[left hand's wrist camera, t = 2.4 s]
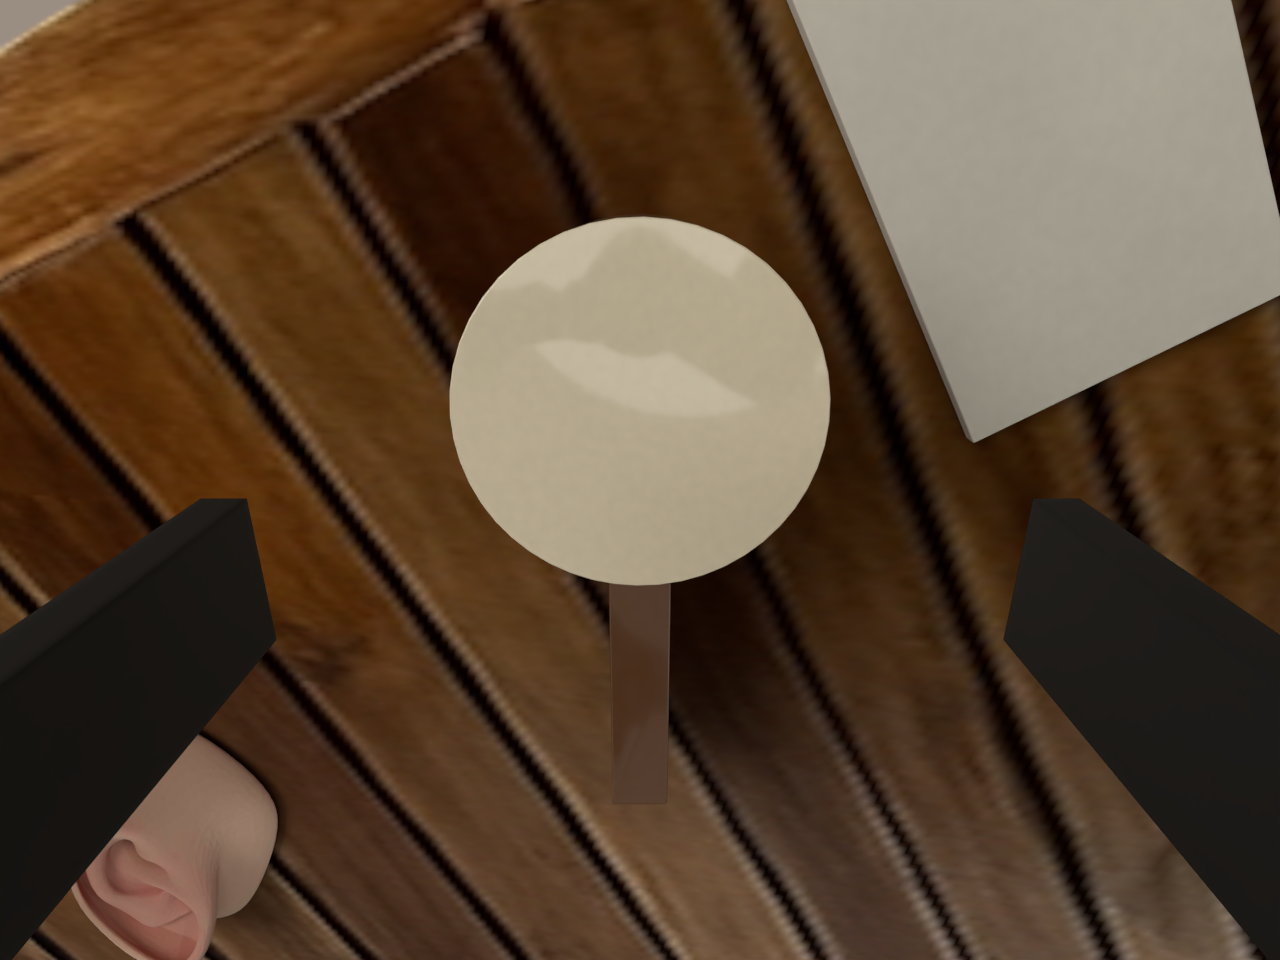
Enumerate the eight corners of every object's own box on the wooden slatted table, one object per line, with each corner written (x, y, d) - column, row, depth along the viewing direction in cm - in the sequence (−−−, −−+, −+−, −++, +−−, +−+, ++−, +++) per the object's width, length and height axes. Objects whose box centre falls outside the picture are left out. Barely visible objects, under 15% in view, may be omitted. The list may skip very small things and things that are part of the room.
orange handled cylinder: (544, 248, 30) (512, 264, 23) (735, 248, 30) (767, 264, 23) (565, 717, 39) (547, 840, 31) (714, 717, 39) (732, 840, 31)
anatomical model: (66, 748, 34) (290, 849, 37) (122, 695, 38) (322, 790, 40) (-15, 914, 38) (192, 996, 41) (43, 851, 42) (229, 930, 44)
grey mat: (1280, 285, 31) (1296, 288, 30) (966, 438, 33) (973, 443, 32) (1157, -247, 25) (1174, -261, 24) (781, -11, 27) (785, -17, 26)
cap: (856, 450, 25) (889, 487, 22) (582, 586, 27) (574, 639, 24) (712, 143, 22) (725, 133, 18) (408, 324, 23) (371, 344, 20)
